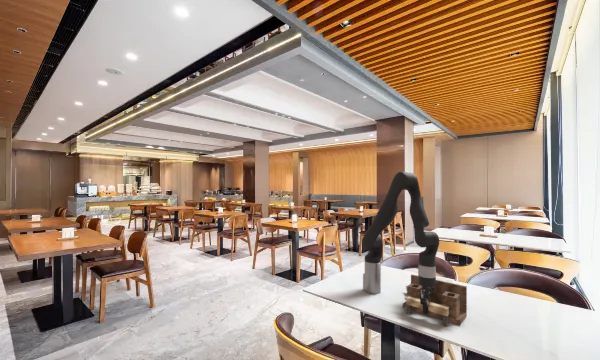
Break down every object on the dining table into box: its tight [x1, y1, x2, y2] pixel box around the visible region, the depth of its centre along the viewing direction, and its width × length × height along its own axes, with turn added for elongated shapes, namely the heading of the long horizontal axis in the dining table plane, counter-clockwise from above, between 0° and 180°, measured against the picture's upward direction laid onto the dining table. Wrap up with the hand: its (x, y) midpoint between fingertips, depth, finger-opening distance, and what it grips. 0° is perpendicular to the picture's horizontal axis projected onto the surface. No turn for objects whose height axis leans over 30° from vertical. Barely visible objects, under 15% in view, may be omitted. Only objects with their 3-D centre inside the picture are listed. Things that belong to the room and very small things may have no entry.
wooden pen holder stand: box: [402, 274, 468, 326], centre depth 138 cm, size 26×12×14 cm, turn 48°
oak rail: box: [405, 296, 450, 327], centre depth 131 cm, size 18×3×8 cm, turn 48°
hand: (426, 311), depth 131 cm, fingers closed on oak rail, 3 cm apart
